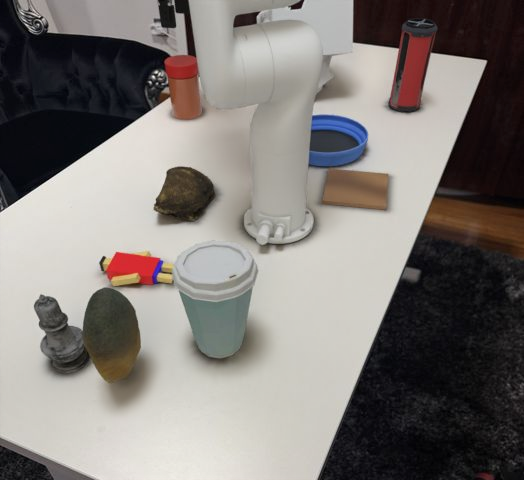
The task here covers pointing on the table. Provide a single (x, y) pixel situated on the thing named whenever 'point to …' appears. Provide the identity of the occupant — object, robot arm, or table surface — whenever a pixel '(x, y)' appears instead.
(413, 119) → the table surface
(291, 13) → the jagged white slab
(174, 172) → the seashell
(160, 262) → the toy figure
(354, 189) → the coaster
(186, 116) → the jar
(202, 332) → the disposable coffee cup
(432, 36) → the speaker
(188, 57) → the lid
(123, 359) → the mango
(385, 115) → the table surface
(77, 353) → the grey chess piece
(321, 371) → the table surface
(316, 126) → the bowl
